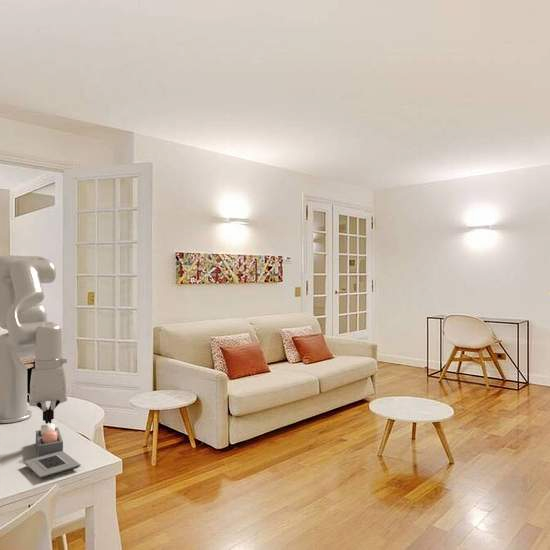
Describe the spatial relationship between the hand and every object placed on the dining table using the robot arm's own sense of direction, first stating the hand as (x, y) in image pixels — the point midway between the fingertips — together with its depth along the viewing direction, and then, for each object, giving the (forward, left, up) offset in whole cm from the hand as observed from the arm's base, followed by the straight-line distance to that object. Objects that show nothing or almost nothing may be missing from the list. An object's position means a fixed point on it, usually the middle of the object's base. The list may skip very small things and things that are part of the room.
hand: (48, 422), depth 144 cm
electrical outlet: (+19, -1, -8) cm, 20 cm away
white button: (0, 0, -5) cm, 5 cm away
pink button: (+7, 0, -5) cm, 9 cm away
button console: (+3, 0, -7) cm, 8 cm away
